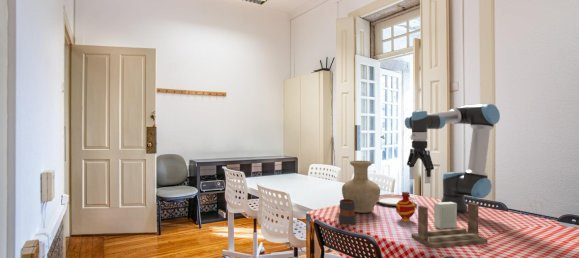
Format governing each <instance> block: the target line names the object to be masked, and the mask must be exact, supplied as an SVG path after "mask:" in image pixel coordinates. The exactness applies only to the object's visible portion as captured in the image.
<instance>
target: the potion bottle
mask: <svg viewBox="0 0 579 258" xmlns="http://www.w3.org/2000/svg"><path fill="white" fill-rule="evenodd" d="M400 195H401V196H402V197H403V199H402V200H400V201H398V203H397V204H396V206H395V211H396V213H397V214H398V215H399V217H400V221H402V222H411V220H412V219H411V218H412V217H413V216H414V214H415V213H416V209H417V208H416V204H415V203H413V202H412V201H410V199H408V197H411V195H410V192H409V191H402V192H401V194H400Z"/></svg>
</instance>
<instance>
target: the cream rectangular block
mask: <svg viewBox="0 0 579 258" xmlns="http://www.w3.org/2000/svg"><path fill="white" fill-rule="evenodd" d="M433 209H434V210H433V211H434V213H433V215H434V216H433V217H434V219H433V220H434V223H433V224H434V225H433V226H434V227H435V228H437V229H438V230H442V229H454V228H457V227H458V224H457V223H458V222H457V221H458V215H457V214H458V213H457V203H454V202H441V201H440V202H439V201H438V202H433Z"/></svg>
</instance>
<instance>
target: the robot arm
mask: <svg viewBox="0 0 579 258" xmlns="http://www.w3.org/2000/svg"><path fill="white" fill-rule="evenodd" d="M500 117H501V115H500V111H499V109H498V107H497V106H496V105H495V104H493V103H481V104H480V103H479V104H478V103H477V104H468V105H467V104H466V105H462V106H459V107H454V108H451V109H449V110H444V111H438V112H430V113H428V111H427V110H414V111H412V113H411V115H408V116H406V118H405V119H404V126H405V127H406V128H407V129H408V130H409V129H410V130H411V140H412V141H411V148H410V149H409V154H408V158H407V159H408V160H407V162H406V165H407V166H408V167H409V179H410V180H416V166H415V165H416V163H417V161H418V159H419V160H421V162H422V164H423V166H424V184H431V181H432V180H431V179H432V178H431V176H432V170H434V169H435V167H434V164H433V161H432V157H431V152H430V149H429V150H427V148H428V130H439V129H440V130H441V129H443V128H444V126H446V125H448V124H452V125H457V124H459V125H464V124H465V125H469V126H470V128H471V129H472V135H471V142H470V150H469V157H468V166H467V169H466V170H465V171H464V172H463V171H453V172H451V171H450V172H444V173H443V175H442V199H441V201H440V202H454V203H457V214H459V213H460V214H463V213H464V214H465V213H468V204H467V202H466V199H465V196H467V197H472V198H474V199H485V198H486V197H487V196H489V195H490V193H491V191H492V188H493V187H492V186H493V185H492V181H491V180H490V179H489V178H488V176H489V175H488V174H487V173H486V166H487V159H488V158H487V157H488V151H489V141H490V134H491V131H492V130H493V129H494V126H495V125H496V124H498V123H499V121H500V119H501V118H500Z"/></svg>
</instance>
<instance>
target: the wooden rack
mask: <svg viewBox="0 0 579 258" xmlns="http://www.w3.org/2000/svg"><path fill="white" fill-rule="evenodd" d="M467 208H468V211H467V228H464V227H463V228H462V227H460V228H446V229H437V230H429V226H428V225H429V207H427V206H425V205H418V206H417V209H418V210H417V216H418V217H417V232H416V233H411V238H412V239H414V240H417V242H420V243H422V244H424V245H425V246H427V247H429V248H431V249H434V248H445V247H446V248H447V247H456V246H465V245H466V246H467V245H475V244H477V245H478V244H487V243H488V238H485V237H483V236H481V235H480V234H479V204H478V203H475V202H467Z"/></svg>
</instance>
